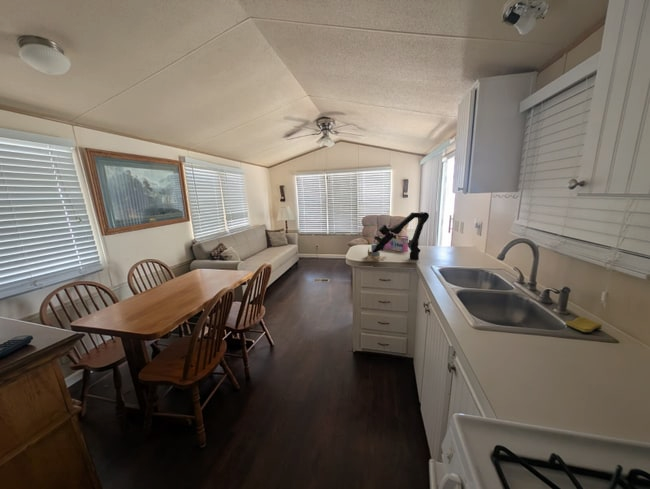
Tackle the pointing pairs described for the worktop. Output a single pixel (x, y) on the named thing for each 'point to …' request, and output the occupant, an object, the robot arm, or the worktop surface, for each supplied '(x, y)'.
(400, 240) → the gum box
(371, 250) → the slate block
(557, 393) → the worktop surface
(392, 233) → the robot arm
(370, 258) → the kraft carton
